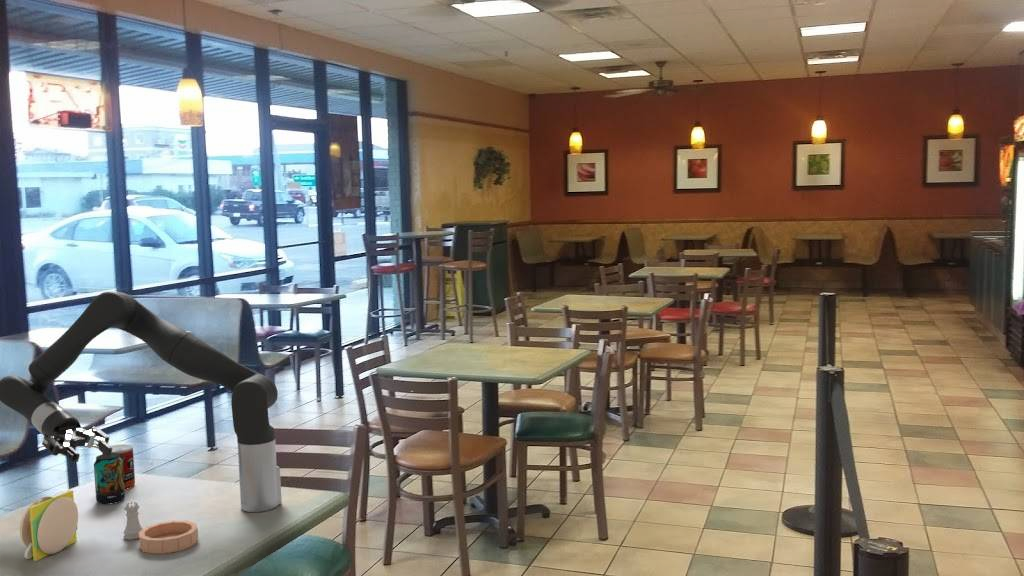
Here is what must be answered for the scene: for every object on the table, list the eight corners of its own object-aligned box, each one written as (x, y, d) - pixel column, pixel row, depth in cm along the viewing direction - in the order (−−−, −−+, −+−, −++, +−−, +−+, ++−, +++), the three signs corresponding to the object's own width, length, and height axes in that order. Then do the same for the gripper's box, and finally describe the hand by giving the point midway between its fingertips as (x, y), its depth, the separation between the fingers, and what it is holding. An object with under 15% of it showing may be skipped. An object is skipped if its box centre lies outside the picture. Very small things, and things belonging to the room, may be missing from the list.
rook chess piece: (131, 542, 212) (129, 508, 211) (119, 538, 214) (117, 505, 213) (148, 535, 215) (146, 502, 215) (136, 532, 218) (134, 499, 217)
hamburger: (55, 539, 215) (51, 488, 214) (84, 542, 212) (81, 491, 211) (14, 558, 203) (10, 505, 202) (44, 561, 201) (40, 508, 200)
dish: (176, 530, 219) (176, 517, 218) (209, 540, 211) (208, 527, 211) (128, 546, 209) (127, 533, 208) (160, 558, 201) (159, 544, 201)
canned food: (124, 491, 249) (121, 452, 248) (98, 490, 251) (95, 451, 250) (141, 483, 257) (138, 444, 256) (115, 482, 258) (113, 443, 257)
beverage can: (118, 504, 238) (115, 459, 237) (91, 505, 239) (88, 460, 237) (129, 496, 245) (126, 452, 244) (103, 496, 246) (100, 452, 244)
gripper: (31, 413, 218) (70, 446, 210) (85, 406, 230) (124, 437, 223) (23, 441, 219) (62, 475, 212) (78, 432, 232) (116, 464, 224)
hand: (94, 455), depth 217 cm, fingers open, 8 cm apart
